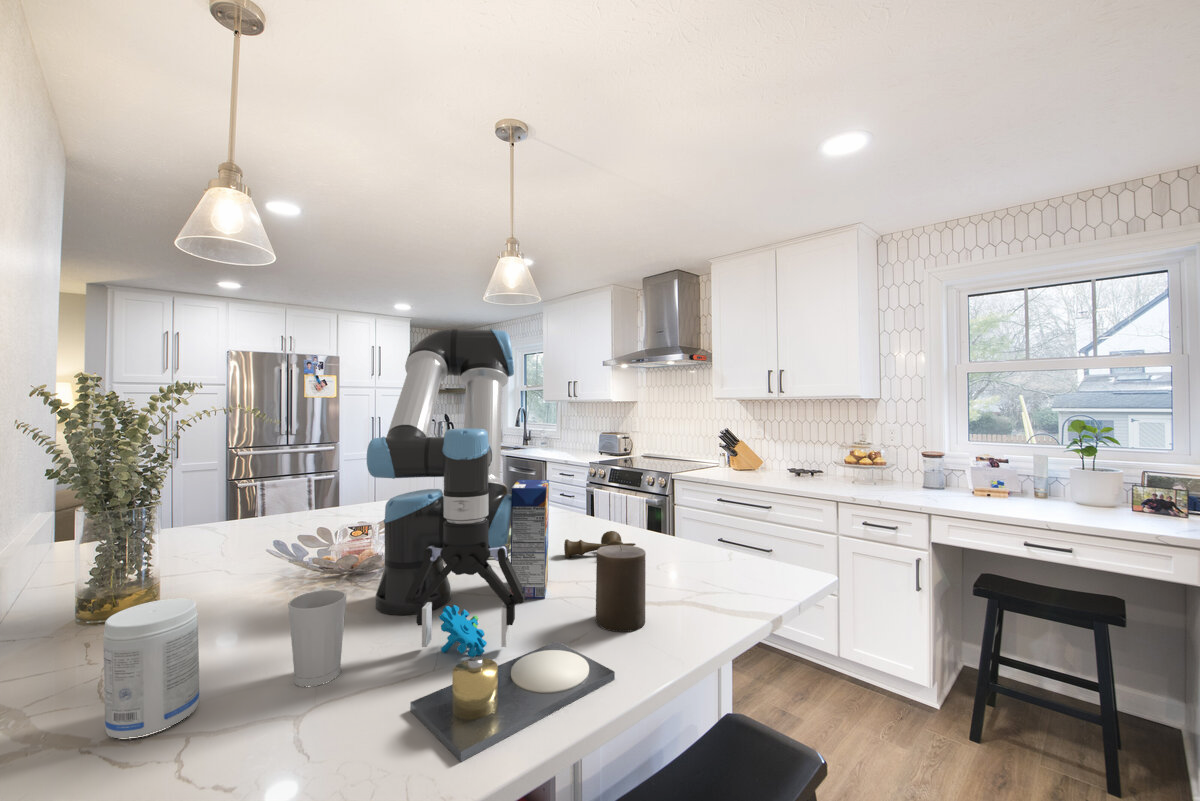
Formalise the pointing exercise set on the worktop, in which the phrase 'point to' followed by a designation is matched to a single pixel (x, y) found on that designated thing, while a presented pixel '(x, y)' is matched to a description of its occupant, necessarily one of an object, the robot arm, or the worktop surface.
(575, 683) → the disc
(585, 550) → the kendama
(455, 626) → the gear
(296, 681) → the cup
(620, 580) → the pillar candle
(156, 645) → the supplement tub
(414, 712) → the carrier plate
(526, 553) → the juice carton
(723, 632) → the worktop surface
